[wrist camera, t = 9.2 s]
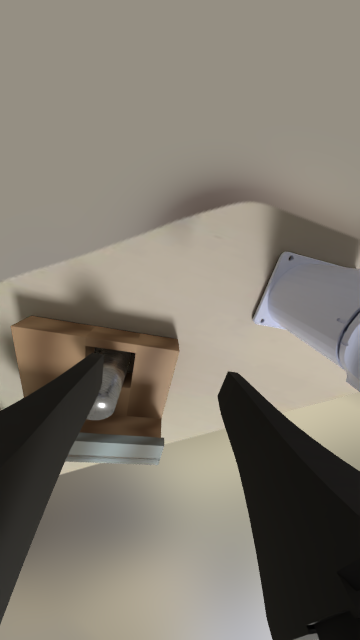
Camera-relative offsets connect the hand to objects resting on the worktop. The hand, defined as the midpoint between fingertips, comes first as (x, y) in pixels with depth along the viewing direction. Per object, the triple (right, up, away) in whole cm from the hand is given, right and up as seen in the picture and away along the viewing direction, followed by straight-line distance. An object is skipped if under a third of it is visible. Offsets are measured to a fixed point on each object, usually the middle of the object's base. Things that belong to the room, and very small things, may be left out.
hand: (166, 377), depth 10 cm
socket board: (-9, -3, +12) cm, 15 cm away
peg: (-7, -1, +11) cm, 13 cm away
